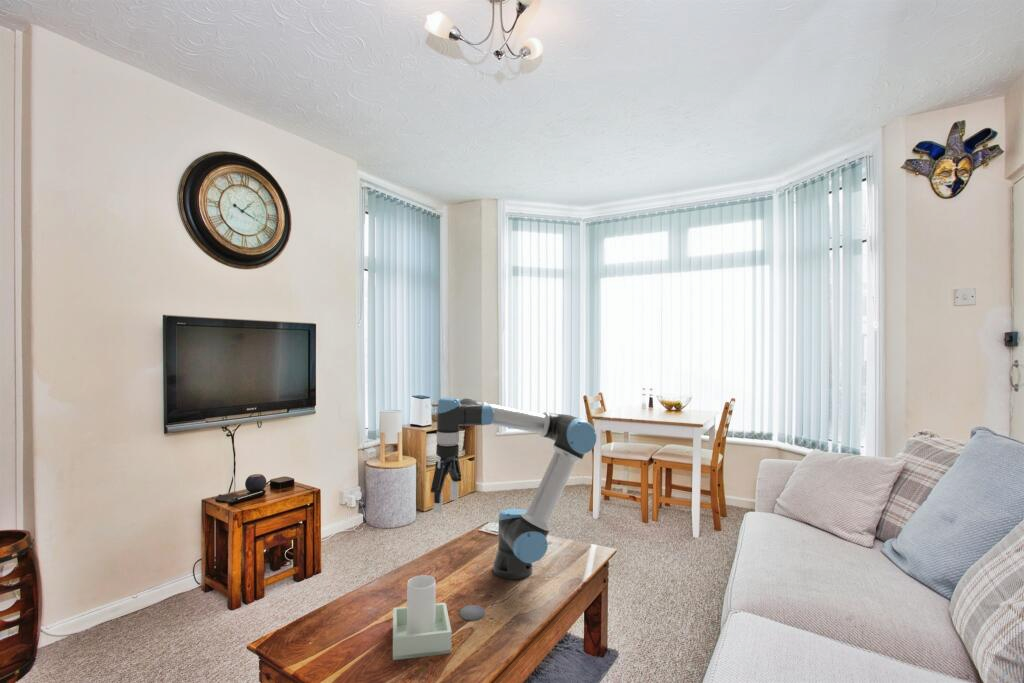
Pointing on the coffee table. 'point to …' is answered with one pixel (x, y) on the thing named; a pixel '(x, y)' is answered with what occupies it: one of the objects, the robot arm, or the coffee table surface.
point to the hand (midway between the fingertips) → (446, 505)
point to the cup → (421, 604)
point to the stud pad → (472, 612)
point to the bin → (421, 635)
